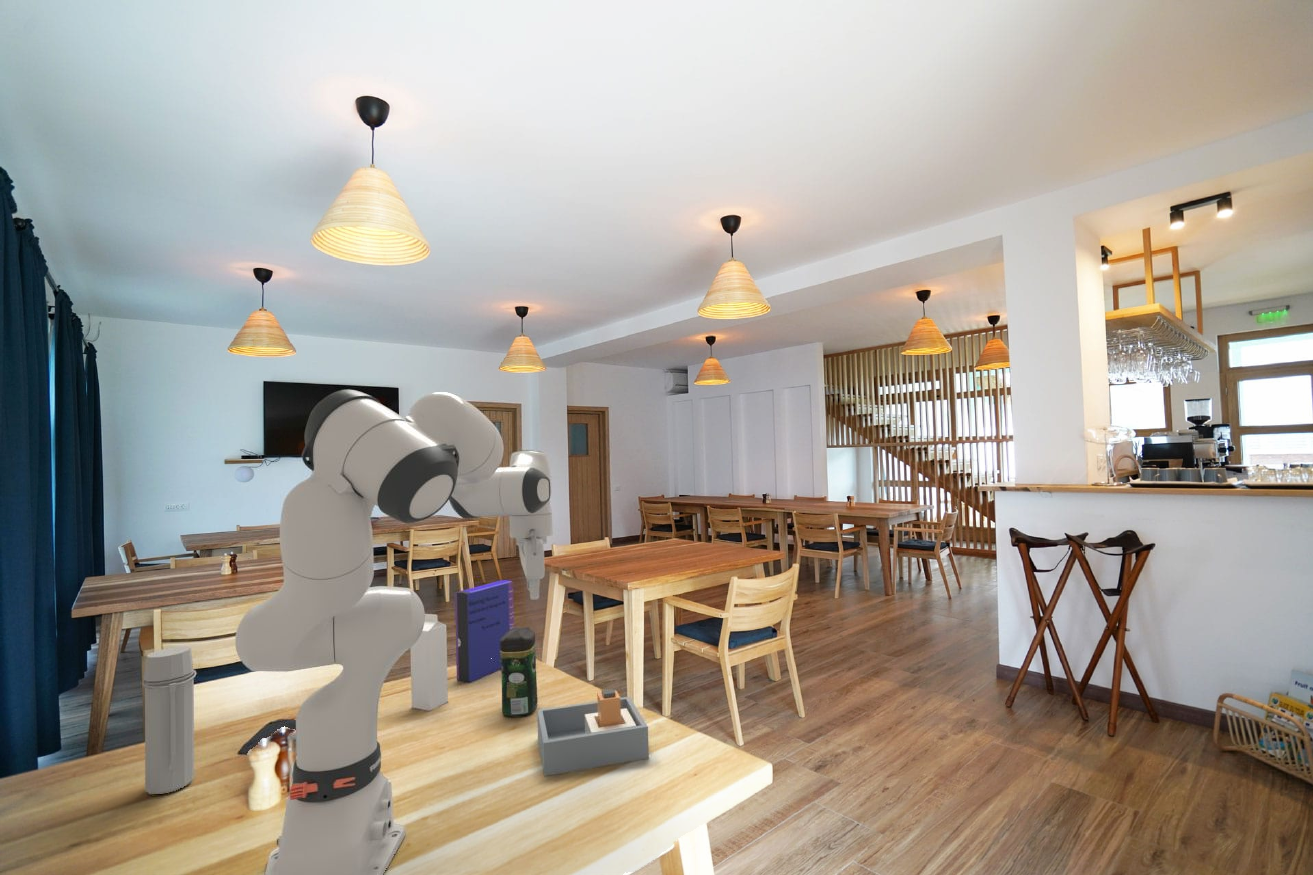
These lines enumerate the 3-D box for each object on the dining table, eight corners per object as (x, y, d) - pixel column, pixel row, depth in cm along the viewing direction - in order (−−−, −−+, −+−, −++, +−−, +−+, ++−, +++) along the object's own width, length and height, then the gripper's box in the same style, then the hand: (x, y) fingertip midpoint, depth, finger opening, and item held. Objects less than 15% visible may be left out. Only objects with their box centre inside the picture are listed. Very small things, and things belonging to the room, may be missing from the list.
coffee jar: (507, 702, 147) (505, 625, 148) (540, 700, 147) (537, 624, 148) (498, 719, 137) (495, 636, 138) (532, 717, 137) (530, 635, 138)
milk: (429, 698, 151) (428, 610, 152) (448, 701, 149) (446, 611, 150) (411, 708, 146) (409, 615, 147) (429, 711, 143) (428, 617, 144)
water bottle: (140, 788, 112) (140, 652, 113) (193, 771, 118) (192, 642, 119) (145, 807, 106) (145, 663, 107) (201, 788, 111) (200, 652, 112)
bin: (648, 757, 117) (647, 726, 117) (544, 775, 111) (543, 742, 112) (630, 724, 132) (629, 696, 132) (538, 738, 127) (537, 709, 127)
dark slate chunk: (283, 725, 139) (283, 704, 140) (373, 726, 137) (372, 705, 137) (230, 757, 124) (229, 734, 124) (329, 759, 122) (329, 735, 122)
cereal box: (503, 661, 178) (500, 579, 179) (515, 663, 176) (512, 580, 177) (456, 680, 163) (454, 591, 164) (469, 683, 161) (467, 593, 162)
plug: (621, 742, 121) (620, 693, 122) (602, 745, 120) (600, 696, 121) (617, 734, 125) (616, 686, 125) (598, 737, 124) (597, 689, 124)
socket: (637, 745, 120) (636, 725, 120) (592, 753, 117) (591, 732, 117) (627, 727, 128) (626, 708, 128) (585, 733, 126) (584, 714, 126)
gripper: (551, 531, 117) (553, 603, 116) (542, 523, 137) (544, 584, 136) (517, 533, 115) (519, 606, 115) (514, 525, 135) (515, 587, 134)
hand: (533, 594), depth 126 cm, fingers open, 8 cm apart
